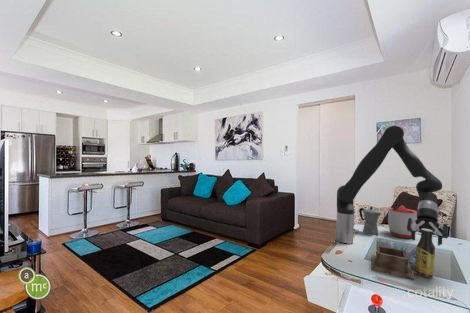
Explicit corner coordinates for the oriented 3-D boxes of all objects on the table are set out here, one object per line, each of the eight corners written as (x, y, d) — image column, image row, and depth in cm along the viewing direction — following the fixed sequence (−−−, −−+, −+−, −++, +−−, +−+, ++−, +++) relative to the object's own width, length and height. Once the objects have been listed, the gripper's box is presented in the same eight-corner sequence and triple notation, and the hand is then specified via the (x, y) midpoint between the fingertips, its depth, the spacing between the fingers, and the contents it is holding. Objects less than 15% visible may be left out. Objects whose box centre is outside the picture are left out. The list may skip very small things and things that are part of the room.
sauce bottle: (411, 271, 102) (412, 226, 102) (424, 271, 103) (425, 226, 103) (424, 279, 96) (425, 231, 96) (438, 279, 96) (439, 231, 96)
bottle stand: (371, 269, 103) (372, 253, 103) (372, 257, 116) (372, 242, 116) (413, 280, 95) (414, 262, 95) (409, 265, 108) (409, 249, 108)
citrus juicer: (404, 231, 160) (405, 202, 160) (422, 240, 143) (423, 208, 143) (381, 230, 162) (382, 201, 162) (396, 238, 144) (396, 207, 144)
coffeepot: (384, 235, 150) (385, 208, 150) (375, 237, 146) (376, 209, 146) (363, 228, 164) (363, 203, 164) (354, 230, 160) (354, 204, 160)
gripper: (408, 204, 113) (405, 233, 104) (447, 209, 104) (448, 241, 95) (409, 213, 117) (406, 242, 108) (447, 219, 108) (447, 251, 99)
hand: (426, 242), depth 102 cm, fingers open, 8 cm apart
